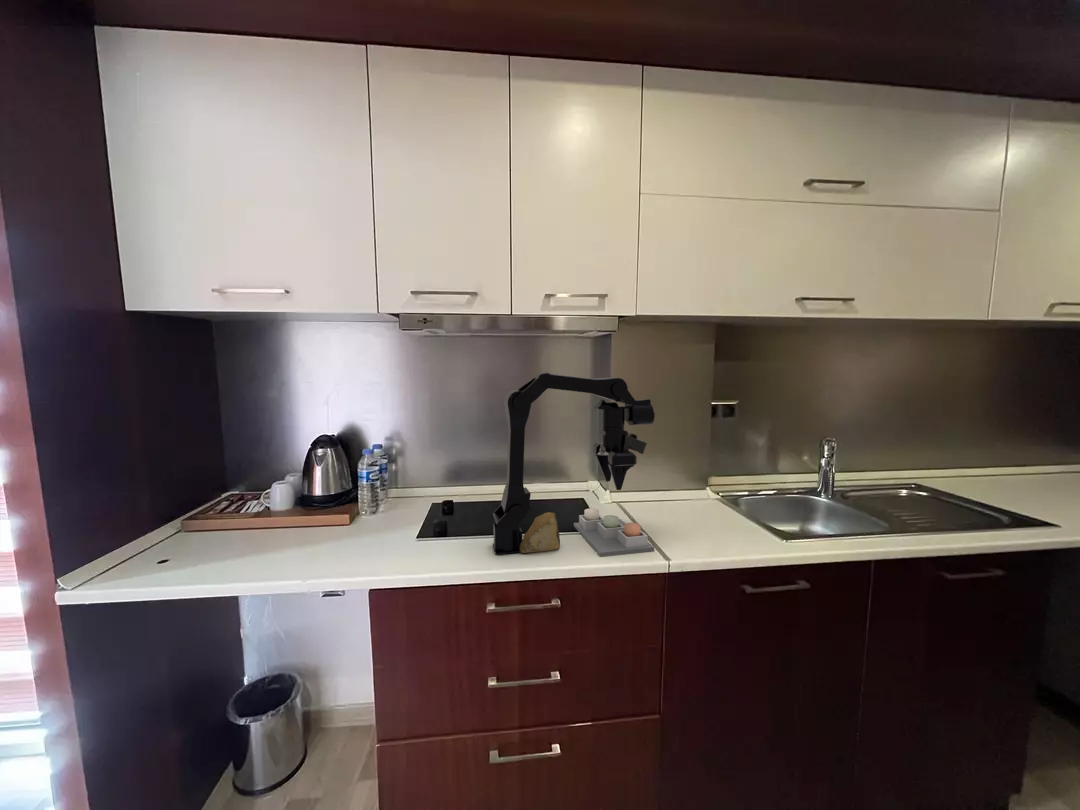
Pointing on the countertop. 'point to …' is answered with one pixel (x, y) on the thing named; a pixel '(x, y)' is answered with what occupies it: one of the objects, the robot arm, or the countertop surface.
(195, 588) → the countertop surface
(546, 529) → the rock
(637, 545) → the panel
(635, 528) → the terracotta button
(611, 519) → the sage button
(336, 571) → the countertop surface
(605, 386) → the robot arm
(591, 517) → the cream button
